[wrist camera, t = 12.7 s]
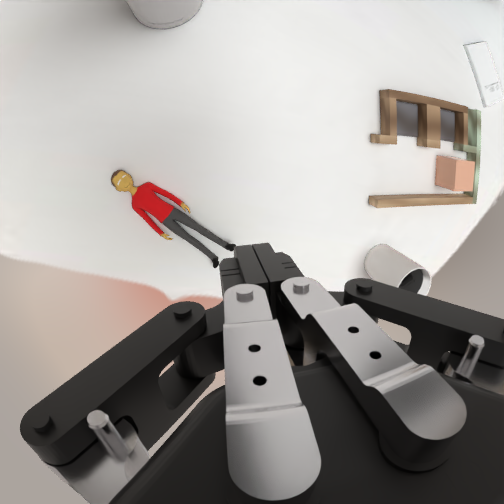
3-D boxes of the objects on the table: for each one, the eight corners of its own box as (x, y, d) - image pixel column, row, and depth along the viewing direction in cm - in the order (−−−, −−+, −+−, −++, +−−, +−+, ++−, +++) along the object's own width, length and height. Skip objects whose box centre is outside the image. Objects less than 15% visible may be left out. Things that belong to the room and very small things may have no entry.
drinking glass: (354, 264, 47) (387, 295, 37) (381, 233, 45) (419, 258, 36) (376, 285, 49) (408, 317, 40) (401, 256, 48) (437, 283, 39)
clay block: (436, 155, 42) (456, 159, 37) (455, 157, 43) (474, 161, 38) (434, 184, 44) (454, 191, 39) (453, 184, 45) (472, 191, 40)
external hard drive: (481, 41, 35) (500, 98, 40) (461, 45, 35) (481, 107, 40) (487, 41, 33) (505, 99, 38) (466, 44, 34) (487, 107, 39)
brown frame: (369, 89, 36) (378, 87, 34) (471, 110, 40) (480, 110, 37) (368, 203, 43) (377, 208, 41) (467, 200, 46) (476, 203, 44)
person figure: (215, 276, 39) (98, 189, 32) (207, 270, 42) (102, 191, 36) (238, 243, 39) (125, 154, 32) (229, 240, 43) (125, 159, 36)
